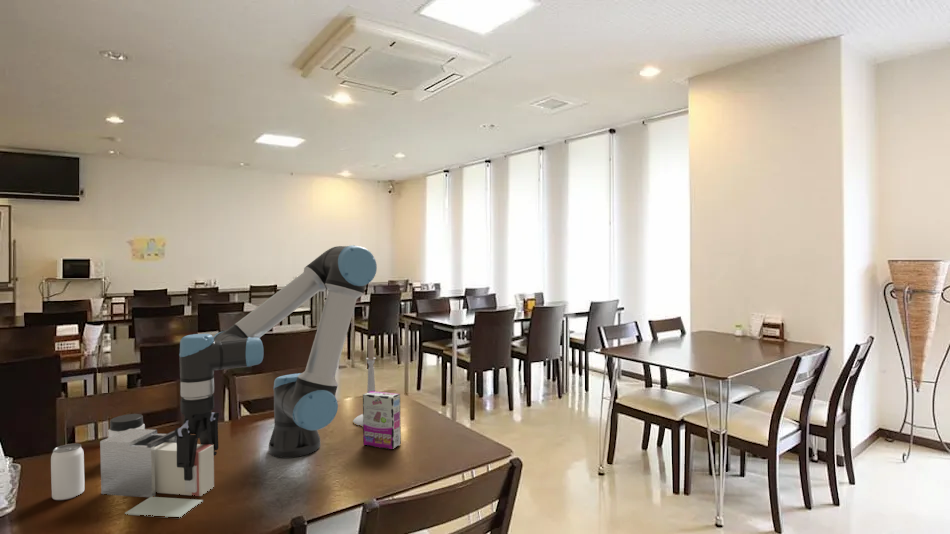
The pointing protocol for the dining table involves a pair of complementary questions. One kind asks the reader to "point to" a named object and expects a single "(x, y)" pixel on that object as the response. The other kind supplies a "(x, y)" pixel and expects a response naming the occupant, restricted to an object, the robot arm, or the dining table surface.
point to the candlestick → (371, 381)
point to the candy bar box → (381, 420)
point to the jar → (125, 423)
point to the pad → (164, 507)
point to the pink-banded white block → (182, 469)
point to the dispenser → (131, 462)
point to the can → (67, 471)
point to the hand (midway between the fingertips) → (199, 486)
